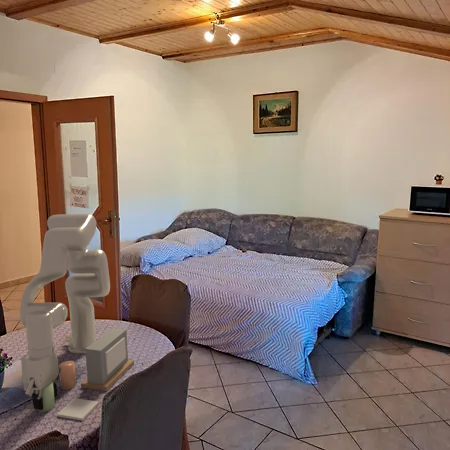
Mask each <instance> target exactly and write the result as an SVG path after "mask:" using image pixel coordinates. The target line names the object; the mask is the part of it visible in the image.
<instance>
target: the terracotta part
mask: <svg viewBox="0 0 450 450" xmlns="http://www.w3.org/2000/svg"><path fill="white" fill-rule="evenodd" d="M58 367H60V368H61V372H60V375H59V379H60V388H61V389H62V390H65V389H66V390H71V389H74V388H75V387H76V385H77V378H76V377H77V376H76V363H75V361H73V360H66V361H63V362H61V363H60V364H58Z"/></svg>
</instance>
